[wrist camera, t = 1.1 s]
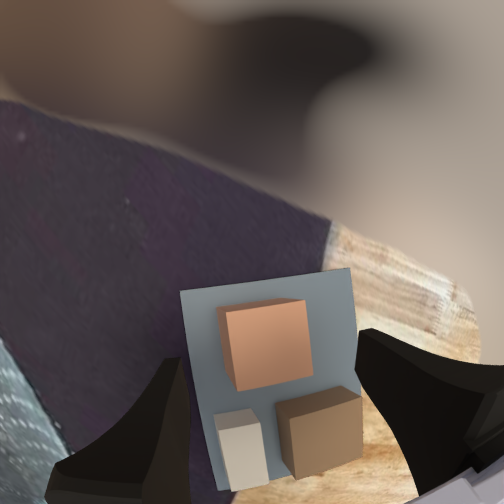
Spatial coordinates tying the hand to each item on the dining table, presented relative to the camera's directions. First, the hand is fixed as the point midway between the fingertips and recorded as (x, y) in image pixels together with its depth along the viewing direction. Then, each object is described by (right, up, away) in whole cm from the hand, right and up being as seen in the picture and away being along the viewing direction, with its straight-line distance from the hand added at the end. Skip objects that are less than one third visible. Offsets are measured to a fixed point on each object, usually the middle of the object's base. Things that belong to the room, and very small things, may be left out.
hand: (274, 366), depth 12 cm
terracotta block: (-1, -2, +12) cm, 12 cm away
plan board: (+2, -7, +12) cm, 14 cm away
